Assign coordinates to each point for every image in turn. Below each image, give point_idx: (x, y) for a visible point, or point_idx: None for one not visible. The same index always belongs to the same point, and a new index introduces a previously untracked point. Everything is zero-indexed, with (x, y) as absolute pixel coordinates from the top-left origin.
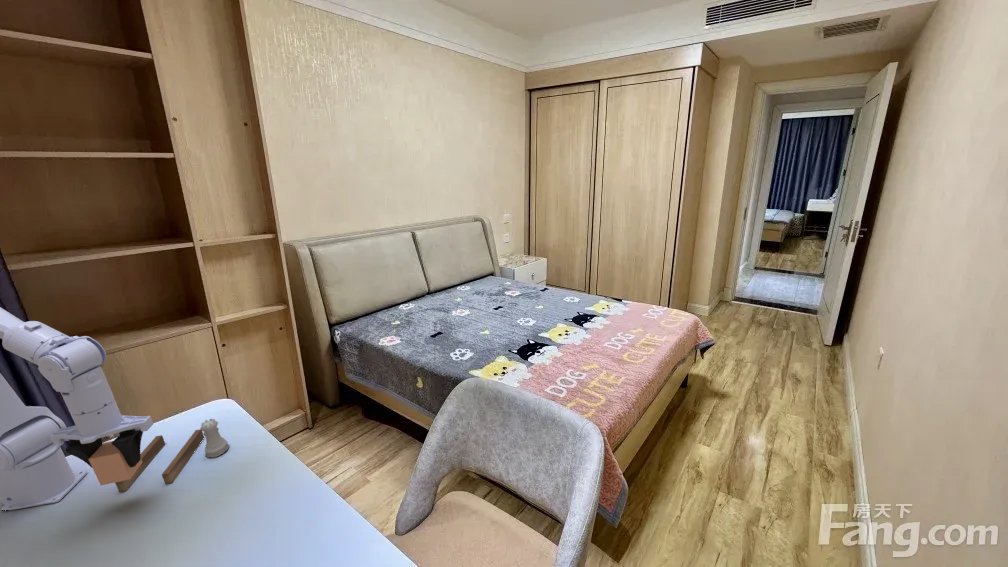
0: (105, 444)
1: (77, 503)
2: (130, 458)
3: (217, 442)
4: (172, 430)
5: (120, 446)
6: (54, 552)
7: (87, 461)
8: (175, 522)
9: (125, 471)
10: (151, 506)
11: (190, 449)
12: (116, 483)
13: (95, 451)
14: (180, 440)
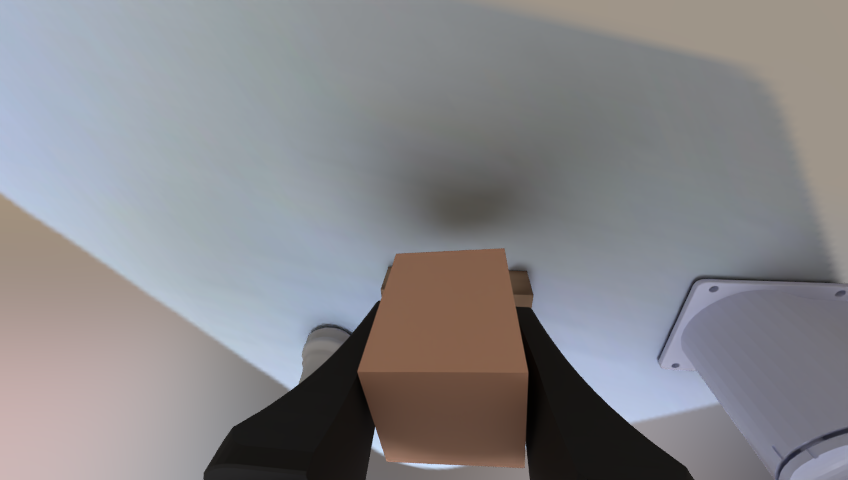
0: (504, 454)
1: (634, 260)
2: (351, 334)
3: (305, 365)
4: None
5: (301, 417)
6: (610, 58)
7: (555, 365)
8: (268, 102)
9: (393, 280)
10: (393, 191)
11: None
12: (529, 292)
13: (535, 422)
14: None
